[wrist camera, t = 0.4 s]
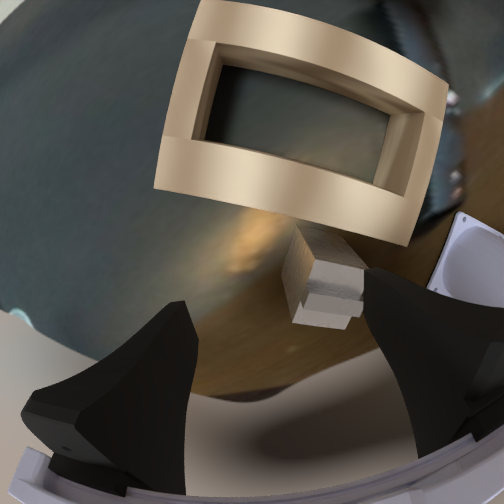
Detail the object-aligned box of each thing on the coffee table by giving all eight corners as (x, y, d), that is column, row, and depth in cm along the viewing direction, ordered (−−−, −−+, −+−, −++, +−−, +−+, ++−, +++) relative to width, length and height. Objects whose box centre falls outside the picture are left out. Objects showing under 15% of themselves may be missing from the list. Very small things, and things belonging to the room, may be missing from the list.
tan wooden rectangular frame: (412, 90, 15) (448, 84, 11) (377, 224, 19) (407, 247, 15) (211, 27, 14) (201, -2, 9) (174, 176, 18) (153, 188, 14)
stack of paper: (339, 234, 20) (377, 278, 13) (322, 281, 21) (348, 337, 15) (295, 224, 19) (318, 266, 13) (280, 274, 21) (294, 331, 14)
